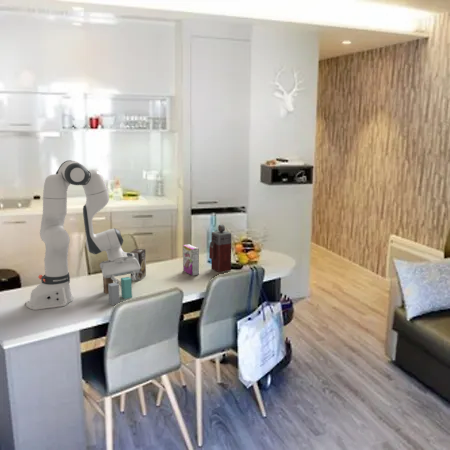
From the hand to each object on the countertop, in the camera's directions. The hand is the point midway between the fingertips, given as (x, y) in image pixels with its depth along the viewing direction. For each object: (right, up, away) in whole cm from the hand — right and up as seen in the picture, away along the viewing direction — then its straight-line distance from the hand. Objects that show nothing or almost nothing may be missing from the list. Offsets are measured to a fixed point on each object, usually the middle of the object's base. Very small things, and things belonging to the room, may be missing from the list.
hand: (125, 281), depth 265 cm
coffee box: (+1, -1, +32) cm, 32 cm away
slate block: (-4, -10, -8) cm, 14 cm away
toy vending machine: (+48, +2, +49) cm, 68 cm away
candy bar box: (+31, 0, +42) cm, 52 cm away
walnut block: (-11, -6, +8) cm, 15 cm away
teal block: (0, -8, +1) cm, 8 cm away
